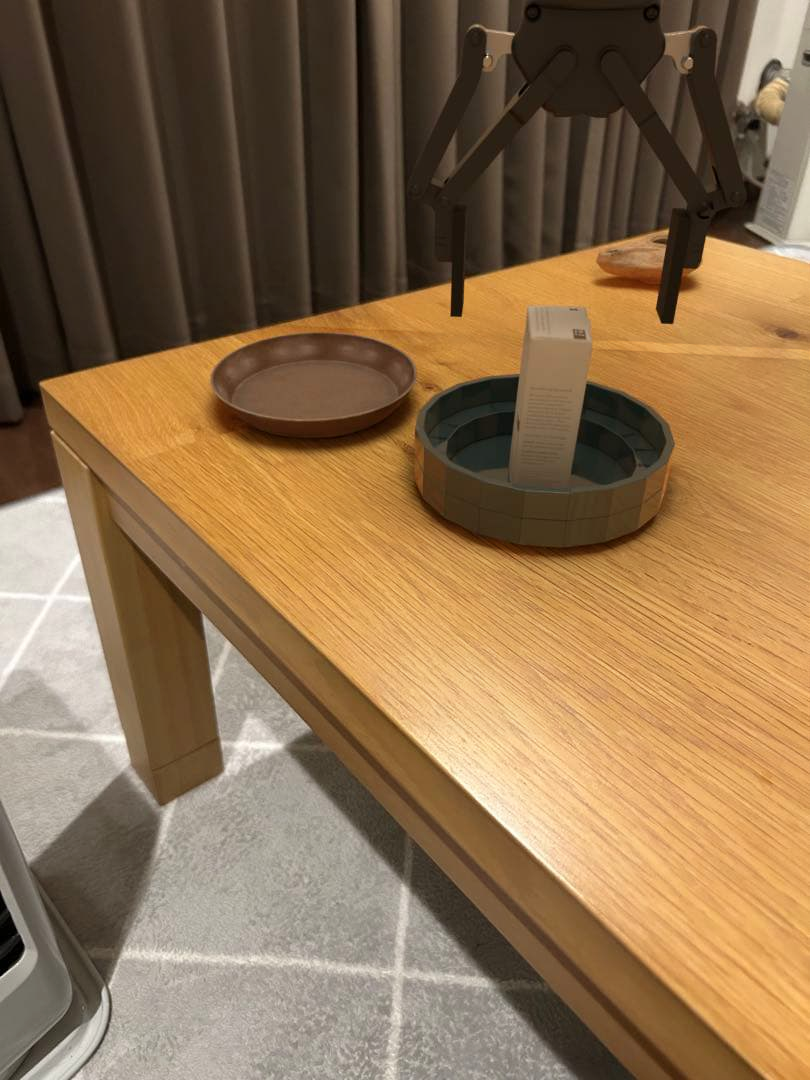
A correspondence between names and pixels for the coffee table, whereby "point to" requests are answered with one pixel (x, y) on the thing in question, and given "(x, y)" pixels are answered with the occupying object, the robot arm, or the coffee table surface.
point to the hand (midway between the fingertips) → (559, 313)
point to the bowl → (538, 512)
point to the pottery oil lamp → (638, 259)
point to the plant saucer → (314, 383)
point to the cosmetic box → (550, 395)
